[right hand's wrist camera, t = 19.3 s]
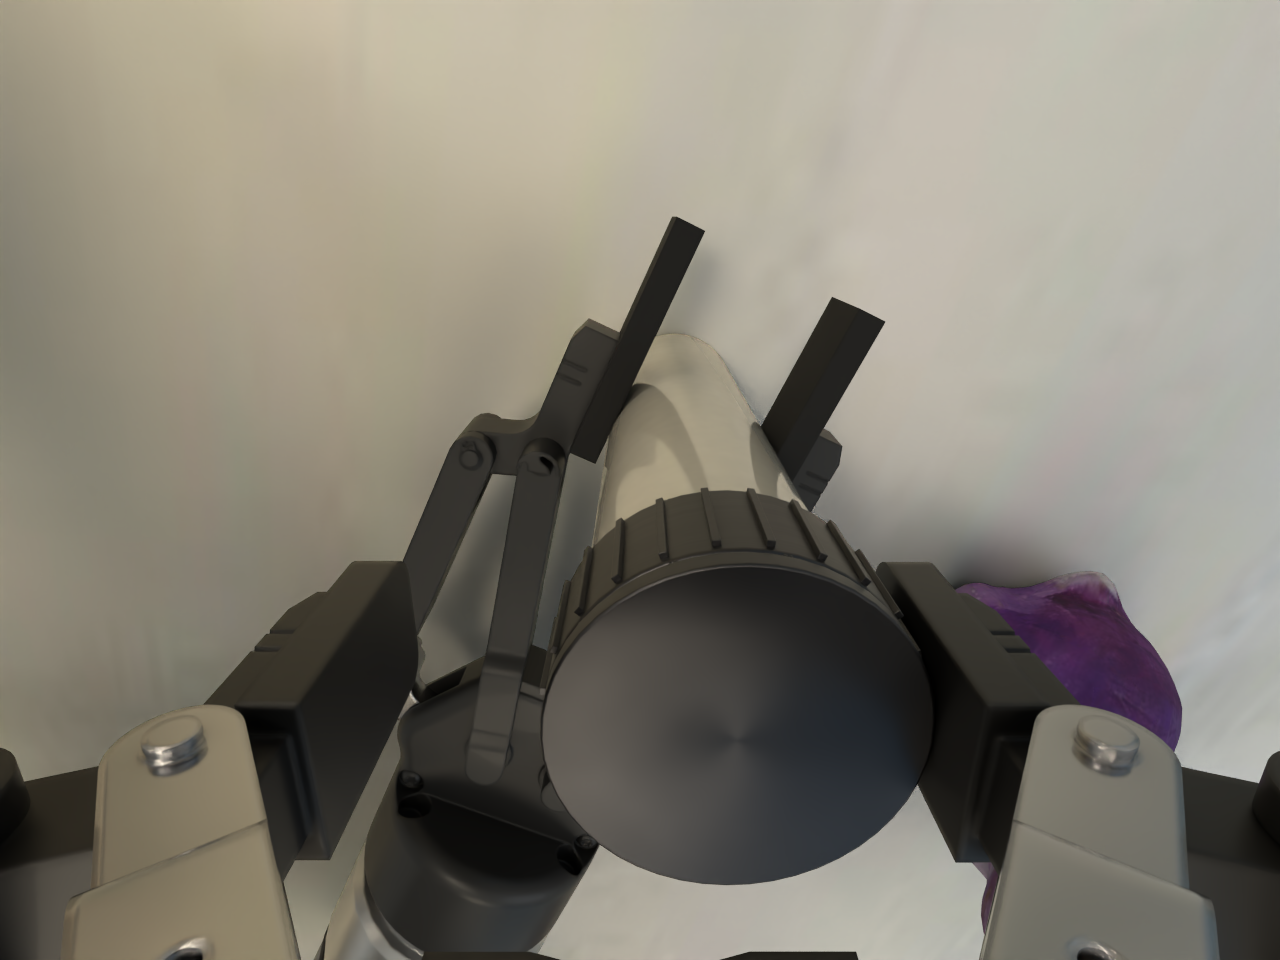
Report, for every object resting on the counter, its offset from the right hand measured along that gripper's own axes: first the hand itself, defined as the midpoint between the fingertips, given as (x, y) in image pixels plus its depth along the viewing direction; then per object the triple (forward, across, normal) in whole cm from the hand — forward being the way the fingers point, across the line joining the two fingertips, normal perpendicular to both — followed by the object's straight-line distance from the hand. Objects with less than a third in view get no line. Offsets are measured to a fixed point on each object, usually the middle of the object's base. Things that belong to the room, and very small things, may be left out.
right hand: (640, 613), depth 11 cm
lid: (-2, -1, 0) cm, 3 cm away
